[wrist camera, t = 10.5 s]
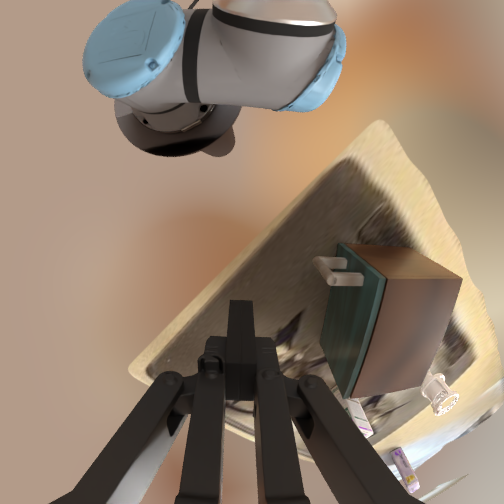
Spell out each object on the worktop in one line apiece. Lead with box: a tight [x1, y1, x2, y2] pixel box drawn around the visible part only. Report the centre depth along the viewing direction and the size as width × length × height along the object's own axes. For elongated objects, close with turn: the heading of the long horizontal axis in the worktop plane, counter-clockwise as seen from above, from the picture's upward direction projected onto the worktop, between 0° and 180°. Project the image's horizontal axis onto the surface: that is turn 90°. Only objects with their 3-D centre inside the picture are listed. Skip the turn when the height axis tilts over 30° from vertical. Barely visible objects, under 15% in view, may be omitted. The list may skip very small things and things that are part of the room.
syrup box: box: [331, 385, 373, 438], centre depth 49 cm, size 6×6×14 cm
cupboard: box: [344, 243, 463, 399], centre depth 40 cm, size 14×20×16 cm
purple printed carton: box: [390, 447, 420, 493], centre depth 62 cm, size 19×5×18 cm, turn 31°
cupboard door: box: [313, 243, 386, 399], centre depth 40 cm, size 6×20×16 cm, turn 176°
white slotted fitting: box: [420, 371, 459, 416], centre depth 49 cm, size 7×7×15 cm
